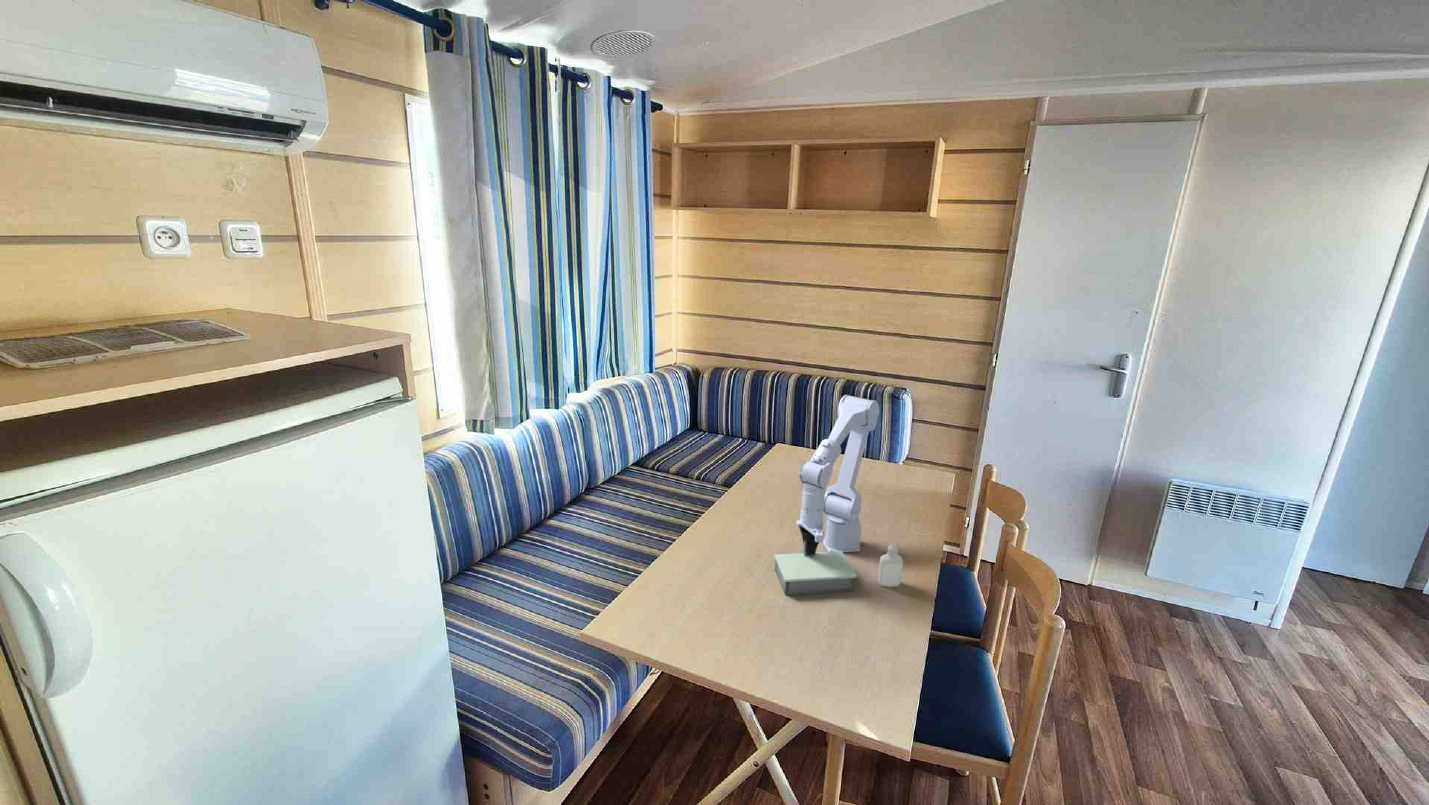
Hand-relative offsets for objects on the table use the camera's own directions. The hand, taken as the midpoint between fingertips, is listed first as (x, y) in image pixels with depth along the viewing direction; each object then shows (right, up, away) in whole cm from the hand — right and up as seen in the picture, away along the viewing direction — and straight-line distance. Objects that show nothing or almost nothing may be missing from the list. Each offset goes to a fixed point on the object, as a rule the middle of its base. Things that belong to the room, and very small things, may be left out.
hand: (809, 552), depth 153 cm
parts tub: (+1, -6, -3) cm, 7 cm away
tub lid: (+1, -3, -4) cm, 5 cm away
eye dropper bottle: (+20, -7, -4) cm, 22 cm away
